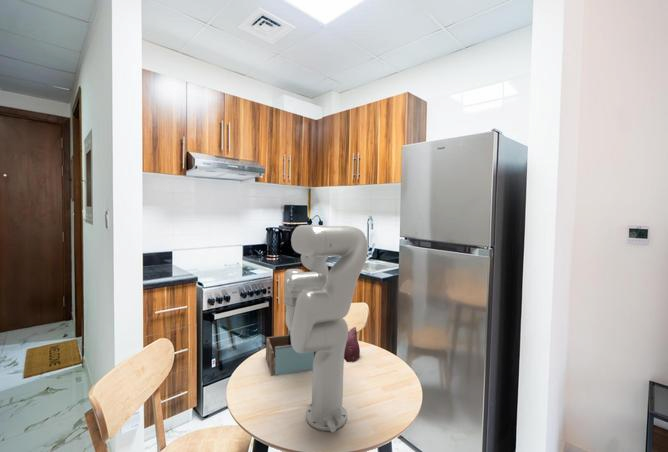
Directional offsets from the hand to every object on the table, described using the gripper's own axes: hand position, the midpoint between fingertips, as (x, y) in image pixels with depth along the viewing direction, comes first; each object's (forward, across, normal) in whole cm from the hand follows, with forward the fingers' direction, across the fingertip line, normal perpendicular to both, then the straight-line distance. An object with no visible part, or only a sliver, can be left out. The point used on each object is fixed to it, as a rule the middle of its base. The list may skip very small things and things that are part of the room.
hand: (292, 345), depth 122 cm
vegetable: (+10, +3, -26) cm, 28 cm away
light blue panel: (+8, -5, 0) cm, 10 cm away
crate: (+10, +2, 0) cm, 10 cm away
